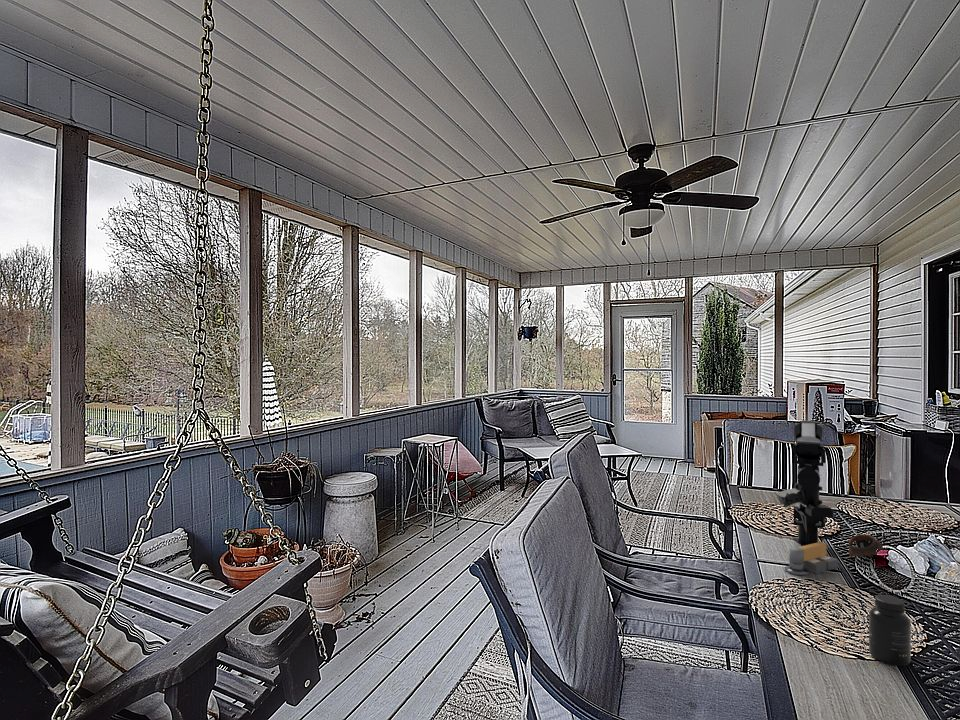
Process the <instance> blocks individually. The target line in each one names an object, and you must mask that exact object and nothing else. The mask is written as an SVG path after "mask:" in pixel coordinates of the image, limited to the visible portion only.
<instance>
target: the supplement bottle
mask: <svg viewBox="0 0 960 720" xmlns="http://www.w3.org/2000/svg"><path fill="white" fill-rule="evenodd" d="M868 613H869V614H868V651H869V653H870V655H871V656H872V657H873V658H874V659H876V660H878V661H879V662H882V663H885V664H887V665H891V666H895V667H904V666H908V665H909V664H910V663H911V655H912V654H911V653H912V650H911V649H912V647H911V642H912V641H911V638H912V635H911V633H912V631H911V630H912V627H911V626H912V623H911V620H910V618H909V616H908V615H907V614H905V613H906V608H905V601H904V600H903V599H900V598H899V597H896V596H893V595H888V594H876V595H875V597H874V607H873V608H871V609H870V610H869V612H868Z"/></svg>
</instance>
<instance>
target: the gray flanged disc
mask: <svg viewBox="0 0 960 720" xmlns="http://www.w3.org/2000/svg"><path fill="white" fill-rule="evenodd" d="M788 564H789V565H785V566H784V571H785V572H786V573H788V574H790V575H793V576H798V577H799V576H801V577H806V576H808V575H809V574H810V571H808V570H807V569H805V568H804V563H803V564H796V563H792V562H790V561H789V563H788Z"/></svg>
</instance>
